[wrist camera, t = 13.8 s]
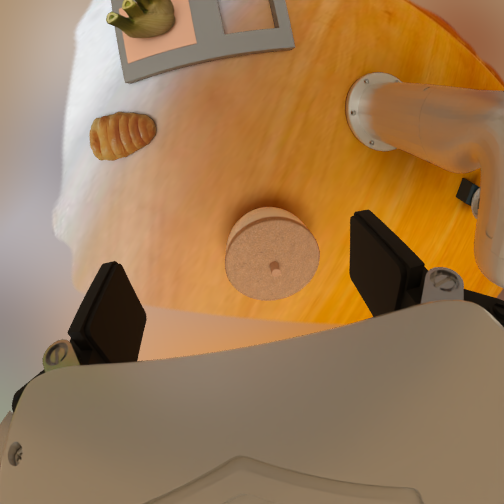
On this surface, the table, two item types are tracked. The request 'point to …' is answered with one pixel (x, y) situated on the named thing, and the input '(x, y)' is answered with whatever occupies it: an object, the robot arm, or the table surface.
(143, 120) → the pastry
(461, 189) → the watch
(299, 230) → the lidded bowl
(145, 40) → the holder board
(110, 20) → the fennel bulb
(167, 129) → the table surface
